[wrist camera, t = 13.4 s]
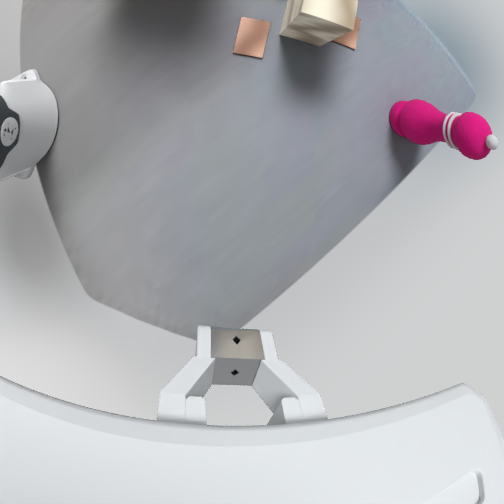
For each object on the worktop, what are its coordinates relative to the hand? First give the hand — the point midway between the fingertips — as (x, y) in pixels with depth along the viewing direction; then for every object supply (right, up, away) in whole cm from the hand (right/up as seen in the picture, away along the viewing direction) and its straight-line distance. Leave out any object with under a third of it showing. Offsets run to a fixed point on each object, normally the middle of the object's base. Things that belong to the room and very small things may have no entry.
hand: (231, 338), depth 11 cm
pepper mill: (+26, +26, +25) cm, 44 cm away
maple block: (+9, +40, +15) cm, 43 cm away
